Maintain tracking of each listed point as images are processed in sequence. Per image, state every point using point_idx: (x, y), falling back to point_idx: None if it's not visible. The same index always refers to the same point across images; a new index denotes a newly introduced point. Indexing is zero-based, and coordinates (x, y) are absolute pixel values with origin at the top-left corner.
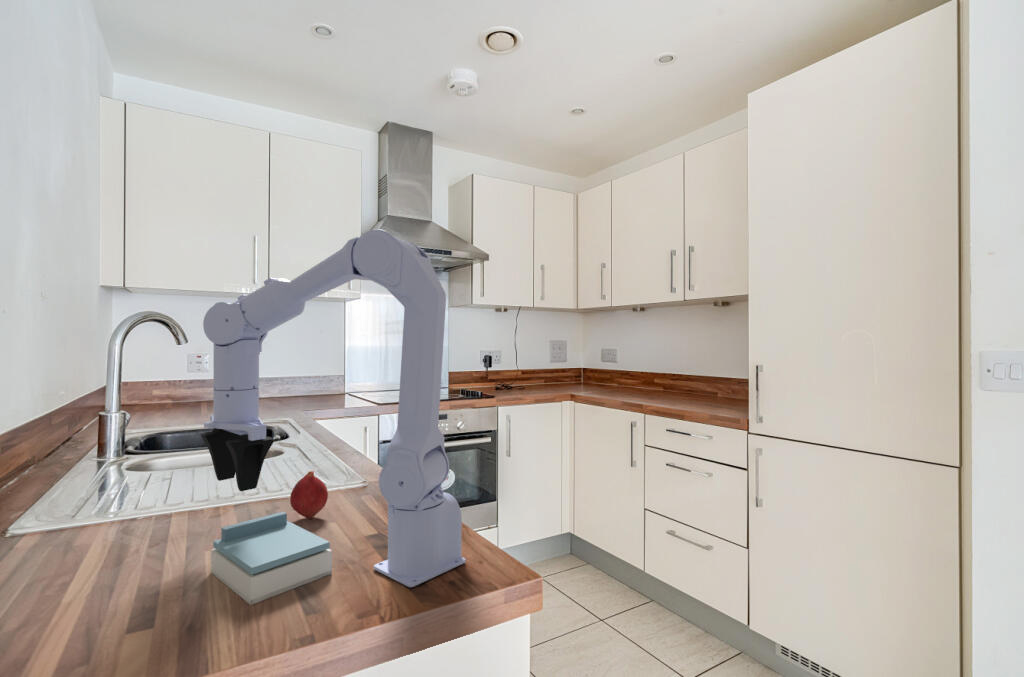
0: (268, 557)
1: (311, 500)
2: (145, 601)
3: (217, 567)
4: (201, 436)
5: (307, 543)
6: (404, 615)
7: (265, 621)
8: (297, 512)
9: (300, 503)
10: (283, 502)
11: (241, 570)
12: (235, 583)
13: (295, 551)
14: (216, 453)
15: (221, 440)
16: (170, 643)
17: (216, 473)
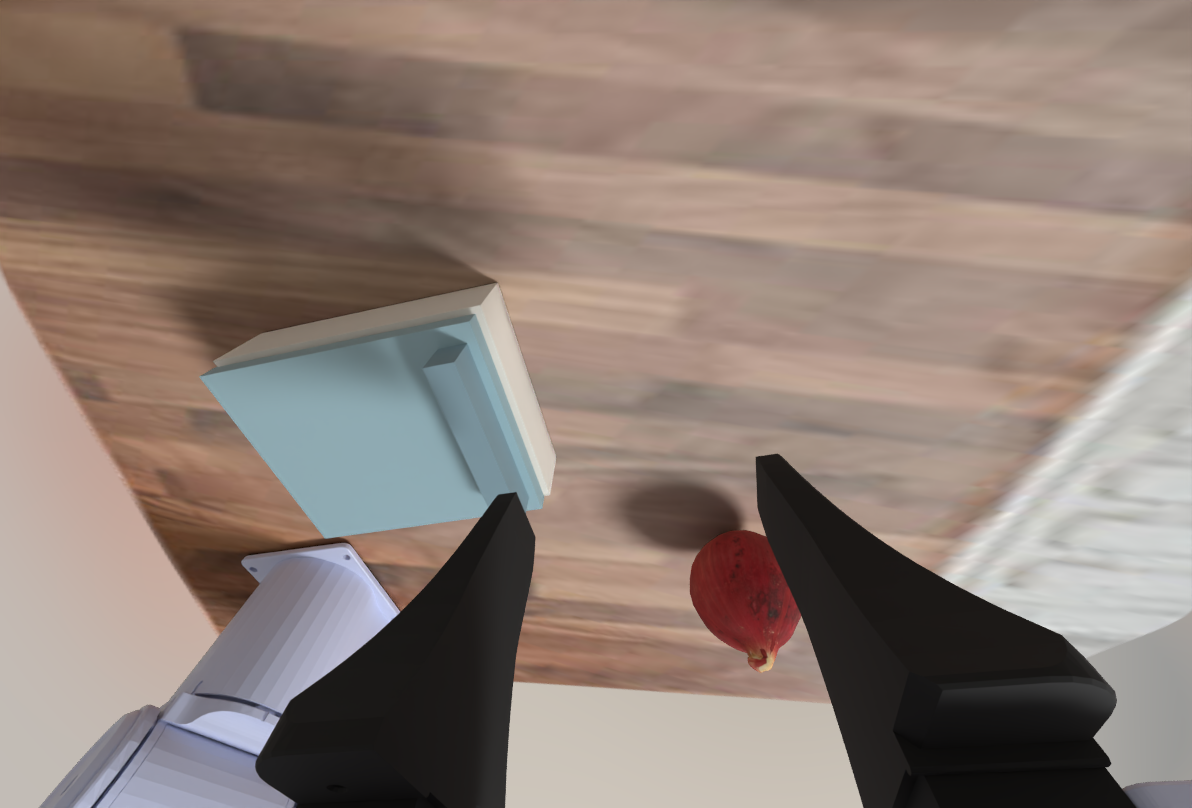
0: (262, 420)
1: (693, 583)
2: (378, 90)
3: (441, 301)
4: (1062, 648)
5: (335, 505)
6: (154, 519)
7: (176, 343)
8: (731, 531)
9: (709, 559)
10: (926, 522)
11: (273, 351)
12: (327, 324)
13: (285, 475)
14: (824, 571)
15: (865, 686)
16: (103, 146)
17: (776, 473)
